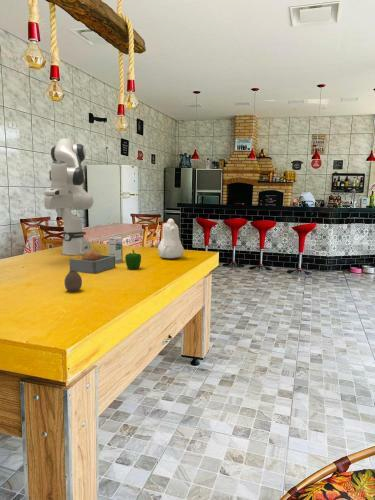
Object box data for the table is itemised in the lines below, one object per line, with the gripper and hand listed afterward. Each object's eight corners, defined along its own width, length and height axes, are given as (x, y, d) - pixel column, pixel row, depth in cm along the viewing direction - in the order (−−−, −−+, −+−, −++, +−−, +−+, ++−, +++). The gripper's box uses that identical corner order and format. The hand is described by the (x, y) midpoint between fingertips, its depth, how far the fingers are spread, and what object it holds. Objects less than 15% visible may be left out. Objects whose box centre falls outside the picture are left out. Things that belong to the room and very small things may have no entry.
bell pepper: (138, 270, 201) (138, 251, 199) (123, 269, 202) (123, 250, 201) (143, 267, 209) (143, 249, 207) (128, 266, 211) (128, 248, 209)
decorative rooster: (184, 260, 231) (185, 219, 227) (158, 260, 230) (158, 219, 226) (181, 254, 256) (182, 216, 252) (157, 253, 254) (158, 216, 251)
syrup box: (115, 263, 219) (115, 238, 217) (108, 262, 222) (108, 237, 220) (122, 262, 223) (122, 237, 221) (115, 260, 227) (115, 236, 225)
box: (91, 264, 214) (91, 253, 213) (115, 267, 208) (115, 256, 207) (69, 270, 197) (69, 259, 196) (94, 273, 191) (94, 261, 190)
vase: (75, 287, 164) (75, 267, 162) (85, 290, 159) (85, 269, 158) (61, 290, 158) (60, 269, 157) (71, 293, 154) (70, 272, 153)
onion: (103, 267, 208) (103, 248, 206) (97, 271, 198) (97, 251, 196) (86, 266, 208) (85, 248, 207) (79, 270, 199) (78, 251, 197)
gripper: (67, 190, 221) (68, 214, 224) (41, 191, 203) (42, 217, 206) (76, 190, 219) (77, 215, 222) (51, 192, 200) (52, 218, 203)
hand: (60, 216), depth 214 cm, fingers closed
